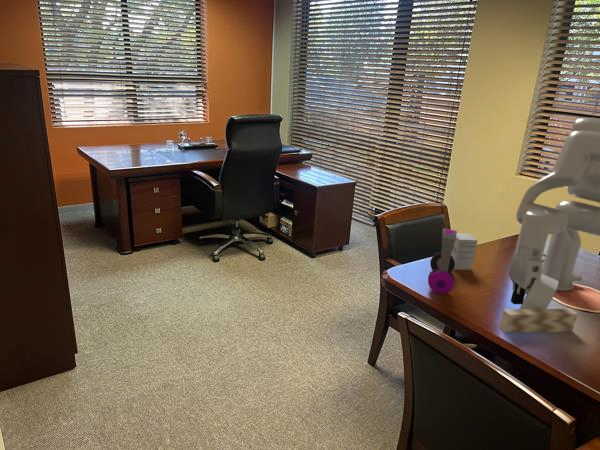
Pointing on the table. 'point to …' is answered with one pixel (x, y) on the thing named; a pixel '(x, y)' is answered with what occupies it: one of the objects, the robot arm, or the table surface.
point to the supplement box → (464, 251)
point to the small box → (540, 293)
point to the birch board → (537, 320)
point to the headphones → (443, 265)
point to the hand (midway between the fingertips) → (516, 303)
